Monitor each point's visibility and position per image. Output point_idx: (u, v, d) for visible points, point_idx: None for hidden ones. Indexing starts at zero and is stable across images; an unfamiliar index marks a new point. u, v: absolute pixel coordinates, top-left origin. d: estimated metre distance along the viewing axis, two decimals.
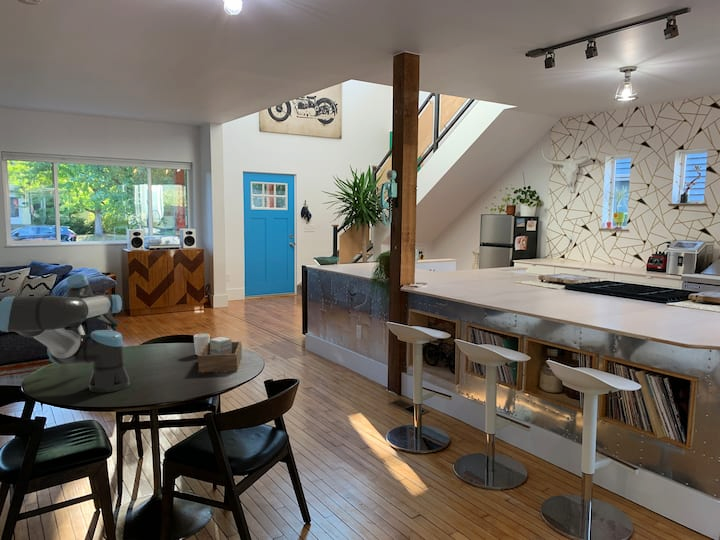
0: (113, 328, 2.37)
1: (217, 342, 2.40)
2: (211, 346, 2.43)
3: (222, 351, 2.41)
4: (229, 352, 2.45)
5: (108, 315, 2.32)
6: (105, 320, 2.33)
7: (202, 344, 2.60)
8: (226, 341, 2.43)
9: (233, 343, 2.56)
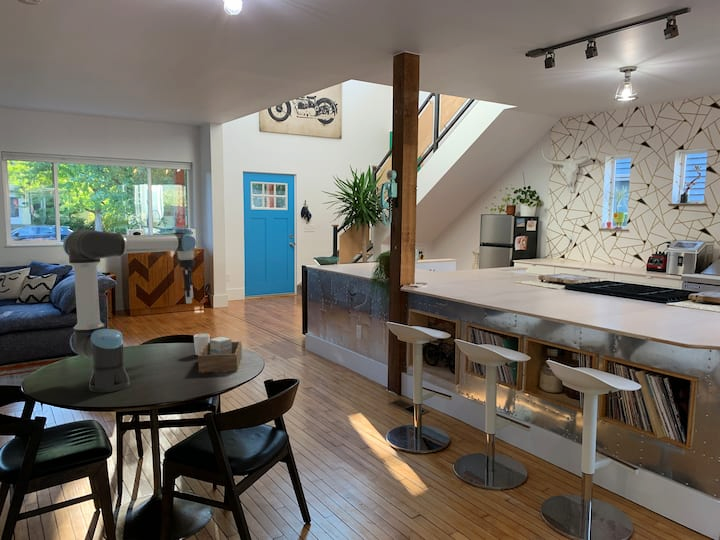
0: (186, 292, 2.52)
1: (217, 342, 2.40)
2: (211, 346, 2.43)
3: (222, 351, 2.41)
4: (229, 352, 2.45)
5: (186, 276, 2.51)
6: None
7: (202, 344, 2.60)
8: (226, 341, 2.43)
9: (233, 343, 2.56)
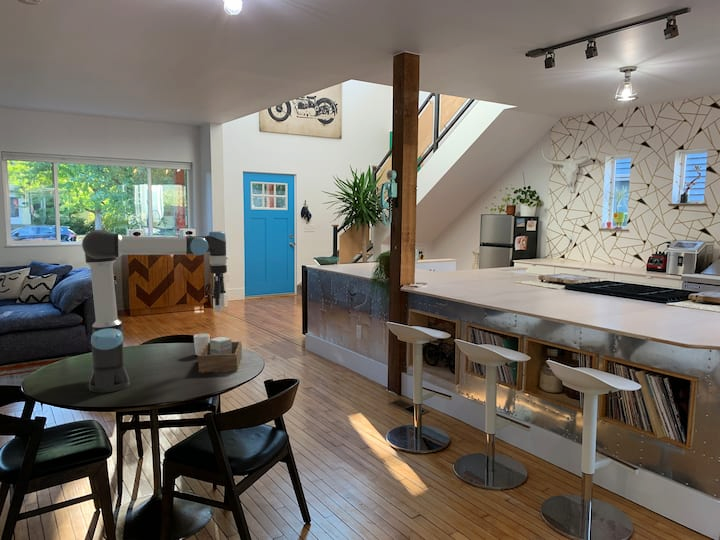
0: None
1: (217, 342, 2.40)
2: (211, 346, 2.43)
3: (222, 351, 2.41)
4: (229, 352, 2.45)
5: (216, 283, 2.34)
6: None
7: (202, 344, 2.60)
8: (226, 341, 2.43)
9: (233, 343, 2.56)
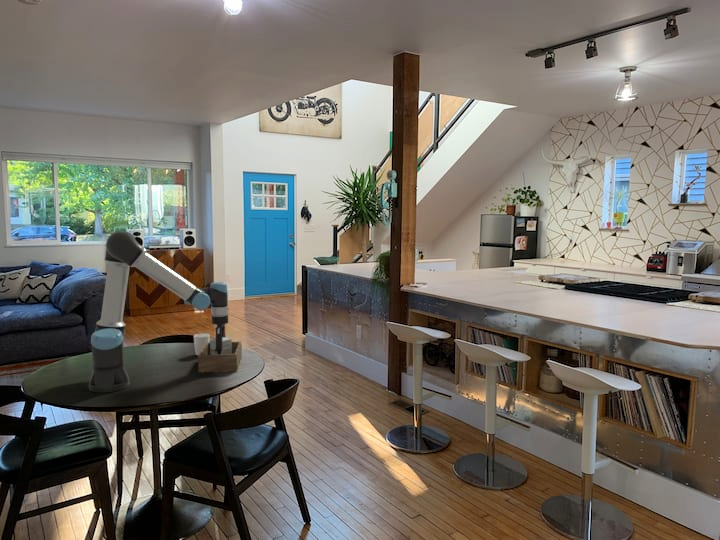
0: (217, 353, 2.39)
1: None
2: (211, 346, 2.43)
3: None
4: (229, 352, 2.45)
5: (218, 336, 2.37)
6: None
7: (202, 344, 2.60)
8: (226, 341, 2.43)
9: (233, 343, 2.56)
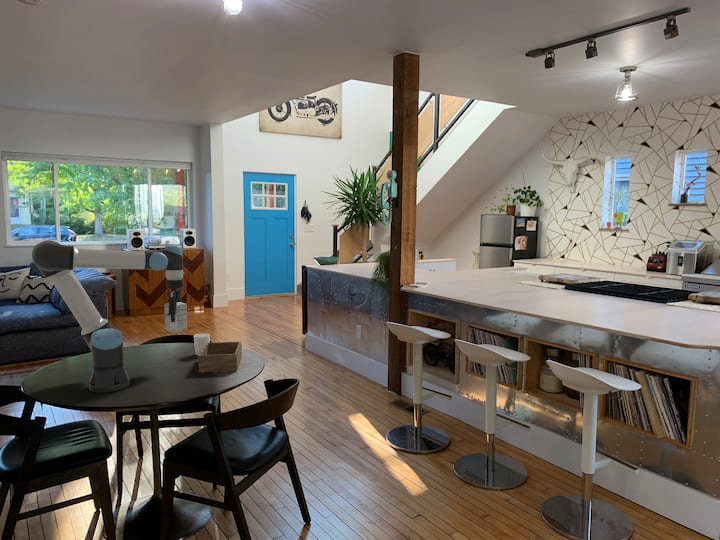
0: (171, 317, 2.33)
1: None
2: (166, 310, 2.38)
3: (176, 315, 2.36)
4: (184, 317, 2.39)
5: (171, 299, 2.32)
6: None
7: (202, 344, 2.60)
8: (181, 305, 2.37)
9: (233, 343, 2.56)
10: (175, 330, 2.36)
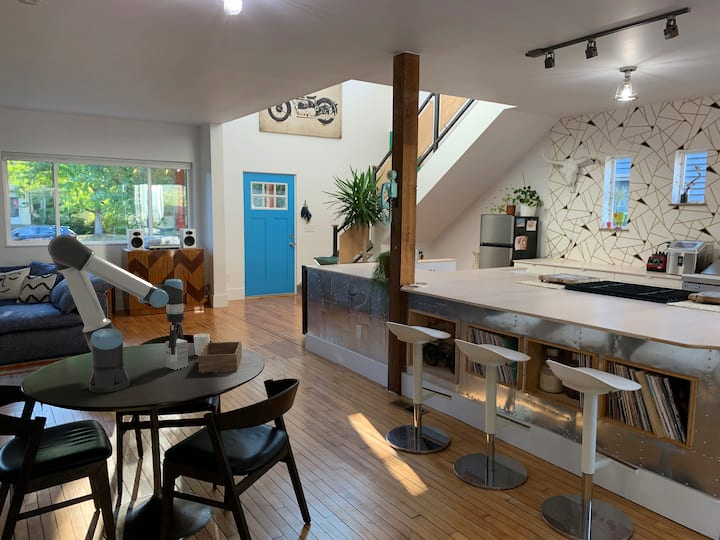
0: (171, 350, 2.33)
1: (172, 344, 2.37)
2: (166, 348, 2.39)
3: (177, 353, 2.38)
4: (185, 354, 2.41)
5: (172, 332, 2.33)
6: None
7: (202, 344, 2.60)
8: (181, 343, 2.39)
9: (233, 343, 2.56)
10: (176, 368, 2.38)
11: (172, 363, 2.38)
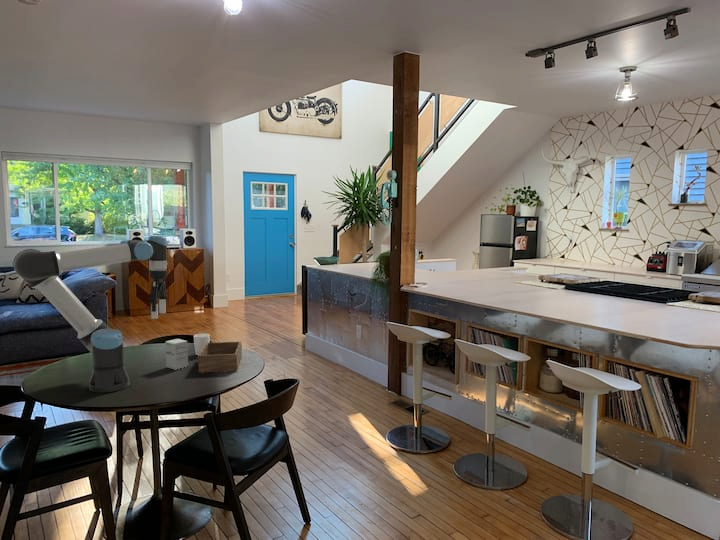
0: (152, 306, 2.28)
1: (172, 344, 2.37)
2: (167, 348, 2.39)
3: (177, 353, 2.38)
4: (185, 354, 2.41)
5: (153, 288, 2.28)
6: None
7: (202, 344, 2.60)
8: (181, 343, 2.39)
9: (233, 343, 2.56)
10: (176, 368, 2.38)
11: (172, 363, 2.38)
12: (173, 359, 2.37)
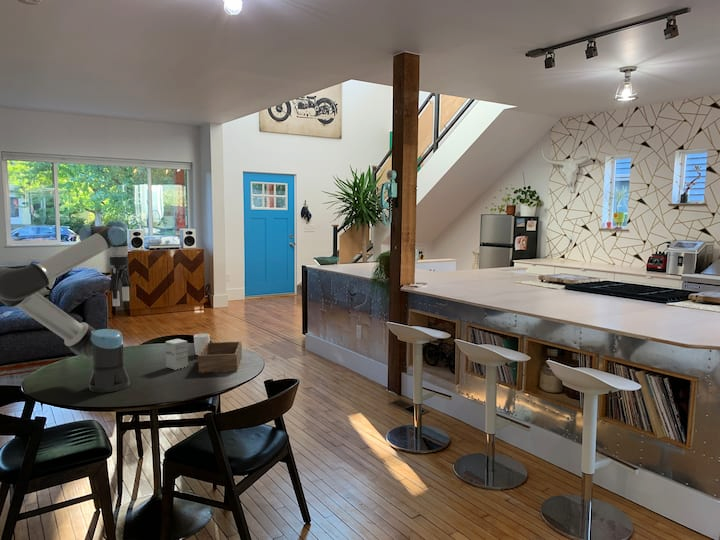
0: (113, 294, 2.22)
1: (172, 344, 2.37)
2: (166, 348, 2.39)
3: (177, 353, 2.38)
4: (185, 354, 2.41)
5: (114, 275, 2.22)
6: None
7: (202, 344, 2.60)
8: (181, 343, 2.39)
9: (233, 343, 2.56)
10: (176, 368, 2.38)
11: (172, 363, 2.38)
12: (173, 359, 2.37)
